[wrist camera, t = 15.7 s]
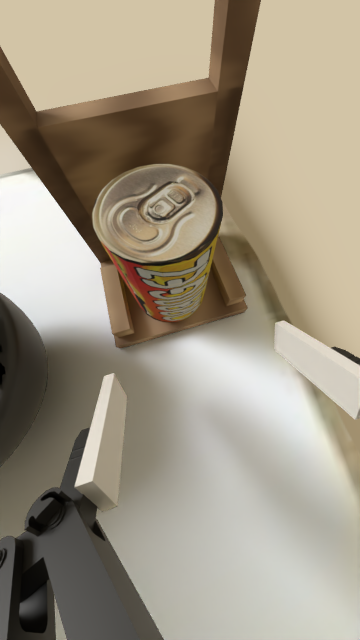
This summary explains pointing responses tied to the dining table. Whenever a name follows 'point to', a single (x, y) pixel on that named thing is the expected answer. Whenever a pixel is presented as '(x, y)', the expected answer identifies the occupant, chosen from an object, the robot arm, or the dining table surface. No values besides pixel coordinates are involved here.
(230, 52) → the wooden high-backed chair
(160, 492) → the dining table surface
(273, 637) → the dining table surface
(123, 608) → the robot arm
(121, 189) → the beverage can
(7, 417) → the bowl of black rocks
